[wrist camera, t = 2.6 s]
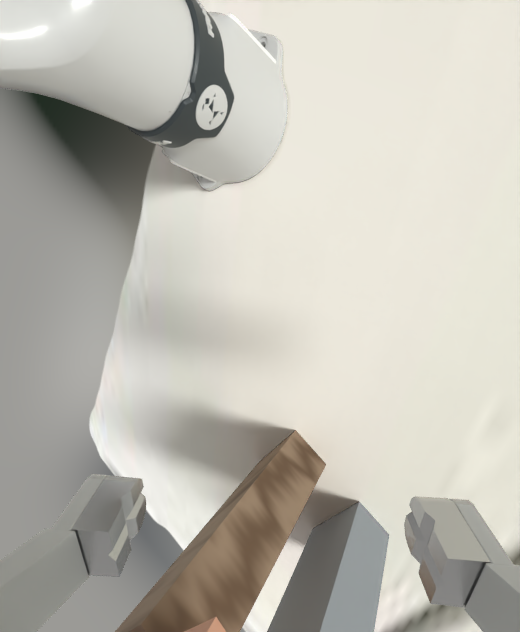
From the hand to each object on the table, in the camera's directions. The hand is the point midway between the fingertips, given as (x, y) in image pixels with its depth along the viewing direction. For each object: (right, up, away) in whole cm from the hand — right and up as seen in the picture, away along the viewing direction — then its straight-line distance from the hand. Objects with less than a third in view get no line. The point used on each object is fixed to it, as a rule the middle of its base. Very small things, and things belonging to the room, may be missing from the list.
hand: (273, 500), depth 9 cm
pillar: (+4, -17, +34) cm, 38 cm away
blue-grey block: (+12, -24, +31) cm, 41 cm away
